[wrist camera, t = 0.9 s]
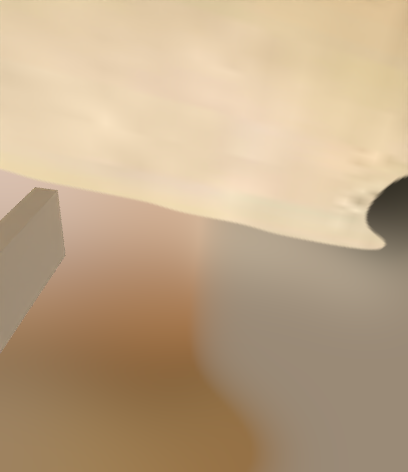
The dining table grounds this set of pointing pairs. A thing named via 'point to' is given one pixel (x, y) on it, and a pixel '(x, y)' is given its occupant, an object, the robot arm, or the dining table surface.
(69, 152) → the dining table surface
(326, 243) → the dining table surface
